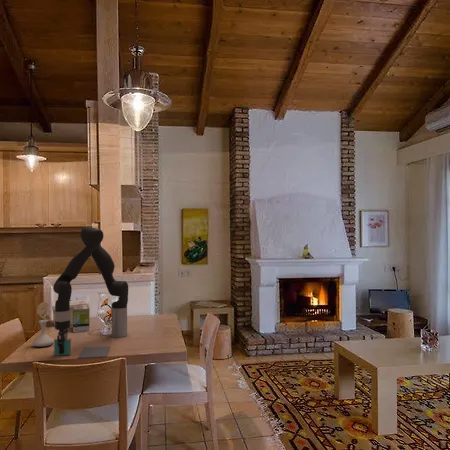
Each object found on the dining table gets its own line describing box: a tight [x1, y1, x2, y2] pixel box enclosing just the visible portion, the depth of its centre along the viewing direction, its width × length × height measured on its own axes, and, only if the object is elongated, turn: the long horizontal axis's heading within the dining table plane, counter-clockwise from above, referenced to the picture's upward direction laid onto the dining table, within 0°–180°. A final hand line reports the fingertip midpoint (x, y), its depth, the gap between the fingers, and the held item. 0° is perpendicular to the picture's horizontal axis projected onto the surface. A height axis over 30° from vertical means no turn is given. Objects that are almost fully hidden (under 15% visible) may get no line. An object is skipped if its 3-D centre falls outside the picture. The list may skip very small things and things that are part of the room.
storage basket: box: [51, 299, 90, 328], centre depth 285 cm, size 24×16×15 cm
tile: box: [53, 337, 72, 356], centre depth 215 cm, size 2×8×8 cm, turn 100°
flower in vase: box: [31, 301, 55, 348], centre depth 231 cm, size 13×11×25 cm
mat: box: [77, 345, 111, 360], centre depth 218 cm, size 18×14×1 cm
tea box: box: [72, 305, 91, 333], centre depth 268 cm, size 15×10×15 cm, turn 22°
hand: (62, 351), depth 215 cm, fingers open, 4 cm apart
